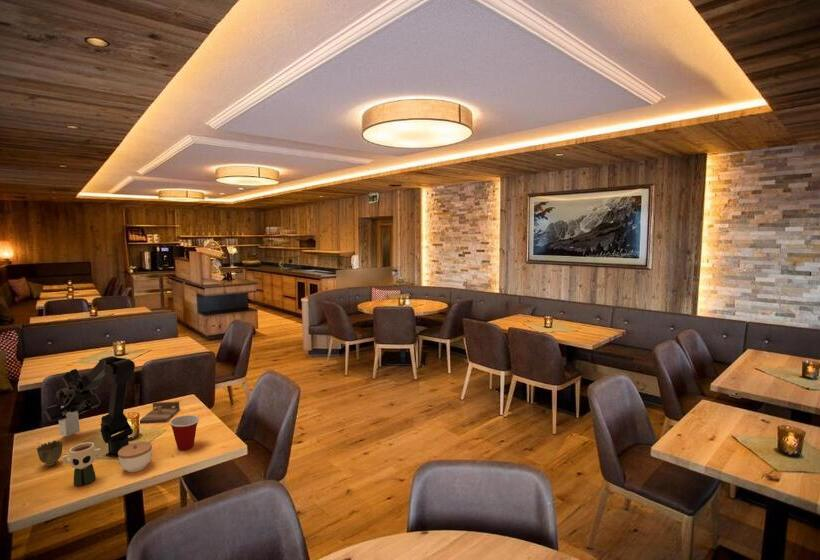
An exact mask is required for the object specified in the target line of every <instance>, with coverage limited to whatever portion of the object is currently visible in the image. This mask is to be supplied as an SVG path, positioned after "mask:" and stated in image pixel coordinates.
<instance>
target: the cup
mask: <svg viewBox="0 0 820 560" xmlns="http://www.w3.org/2000/svg"><path fill="white" fill-rule="evenodd" d="M36 452H37V455H38V458H39V461H40V462H41V463H43V464H45V465H44V466H45V467H46V468H47V467H48V468H49V467H54V466H55V465H57V464H58V462H59V461H58V460H59V459H60V458H61V456H62V454H63V453H62V452H63V441H60V440H53V441H48V442H47V443H45V442H44V443H43V444H41V445H40V446H38V447H36Z"/></svg>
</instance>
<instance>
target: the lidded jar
mask: <svg viewBox="0 0 820 560" xmlns="http://www.w3.org/2000/svg"><path fill="white" fill-rule="evenodd" d="M152 455H153V443H151V442H149V441H137V442H133V443H130V444H129V445H127V446H125V447H123V448H121V449H120V450H119V451H118V456H119V457H118V462H119V464H120V467H121V469H123V470H124V471H126V472H127V473H137V472H140V471H142V470H144V469H145V468H146V467H147V465H148V464H149V463H150V461H151V460H152Z"/></svg>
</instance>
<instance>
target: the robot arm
mask: <svg viewBox="0 0 820 560" xmlns="http://www.w3.org/2000/svg"><path fill="white" fill-rule="evenodd" d="M135 369H136V364H135V362H134V361H133V360H131V359H129V358H126V357H117V356H113V355H110V356H106V357H102V358H101V359H99V360H98V363H97V364H96V365H95V366H93V368H92V369H91V370H89V372H88V373H87V374H85V375H83V376H82V374H81V373H80V372H79V370H78V369H77V368H75V369H74V368H73V369H71V370H70V371H68V372H66V373H65V374H63V375H62V377H61V378H62V380H63V381H64V383H65V385H66V387H64V388H61V389H59V390H57V391H56V393H55V398H57V400H60V399H62V400H63V402H62V403H63V404H64V405H63V406H64V408H61V406H60V405H59V406H58V405H57V404H53V405H50V406H48V407H45V409H44V411H43V413H44V415H45V416H46V418H47V420H48V421H49V423H53V422H57V421H58V422H59V421H62V420H63V419H65V418H67V417H66V413H68V412H71V413H72V412H75V411H78V416H79V415H80V414H83V413H85V412H88V411H90V410H91V409H95V408H98V407H99V406H100V404H101V399H99V397H98V395H97V394H96V393H94V392H93V391H92V390H94V389H97V388H99V386H100V385H101V383H102V380H101V379H102V378H104V376H105V375H107V377H108V378H109V380H110V381H111V388H110V396H109V404H108V405H109V406H108V413H107V414H106V415H102V416H101V419H100V420H101V422H100V435H101V437H102V440H103V442H104V443H105V444H107V447H108V449H107V450H108V452H107V453H106V454H105V456H106V457H115V458H116V457H117V458H119V456H118V451H119V450H120V449H121V448H123V447H125V446H127V445H129V436H132V435H133V432H134V431H133V427H132V426H131V425H130V424H129V422H128V418H127V416H126V415H125V414H124V413H125V412H124V411H125V404H126V395H127V394H126V393H127V388H128V382H129V381H130V380H131V379H132V377H133V376H134V373H135Z"/></svg>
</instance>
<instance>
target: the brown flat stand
mask: <svg viewBox="0 0 820 560" xmlns="http://www.w3.org/2000/svg"><path fill="white" fill-rule="evenodd" d="M180 409H181V408H180V401H159V402H152V410H150V411H149V412H148V413H146V414H145V415H144V416H143V417H142V418H140V425H142V424H157V423H158V424H160V423H162V424H163V423H168V422H170V421H171V420H172V419H173V417H174V416H175V415H176V414H178V412H180Z"/></svg>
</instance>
